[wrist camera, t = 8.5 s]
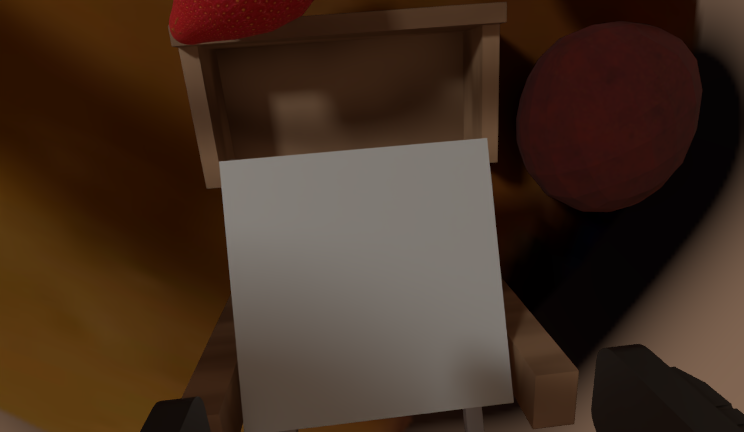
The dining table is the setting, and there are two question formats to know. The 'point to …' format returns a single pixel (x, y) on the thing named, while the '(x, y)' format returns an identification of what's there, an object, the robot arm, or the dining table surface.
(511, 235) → the dining table surface
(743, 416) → the robot arm
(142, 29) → the dining table surface
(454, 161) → the trapdoor
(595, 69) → the potato
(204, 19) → the strawberry
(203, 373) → the stand
